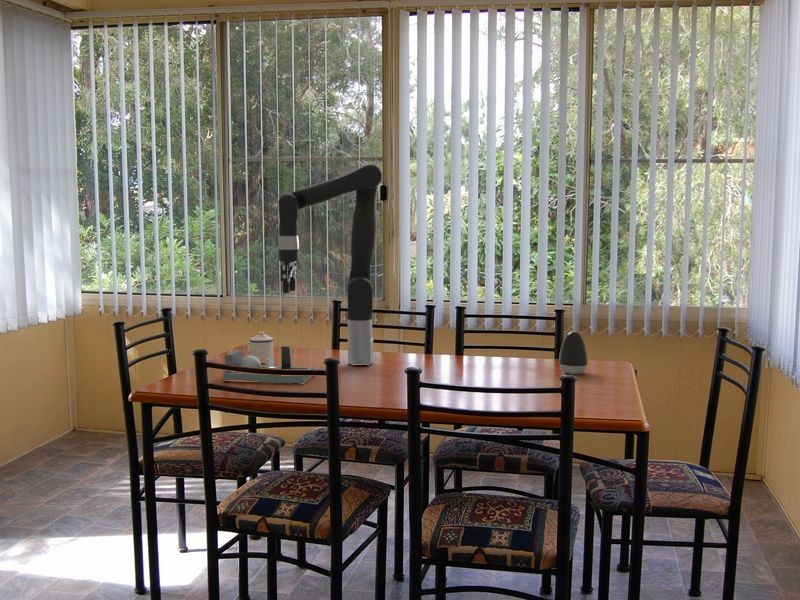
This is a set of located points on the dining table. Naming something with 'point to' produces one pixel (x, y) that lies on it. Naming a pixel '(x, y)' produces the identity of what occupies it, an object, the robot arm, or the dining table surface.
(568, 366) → the grey egg shaped speaker
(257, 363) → the bath bomb
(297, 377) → the press frame
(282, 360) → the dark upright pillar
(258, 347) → the teacup with lid
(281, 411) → the dining table surface
